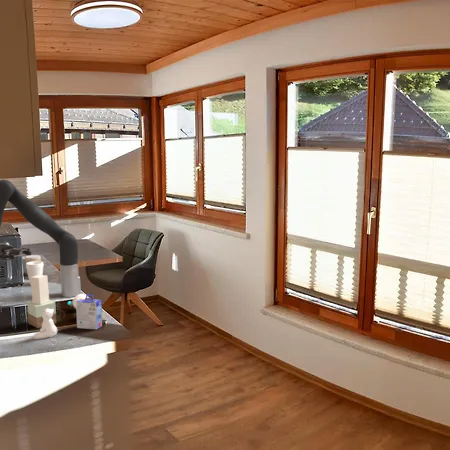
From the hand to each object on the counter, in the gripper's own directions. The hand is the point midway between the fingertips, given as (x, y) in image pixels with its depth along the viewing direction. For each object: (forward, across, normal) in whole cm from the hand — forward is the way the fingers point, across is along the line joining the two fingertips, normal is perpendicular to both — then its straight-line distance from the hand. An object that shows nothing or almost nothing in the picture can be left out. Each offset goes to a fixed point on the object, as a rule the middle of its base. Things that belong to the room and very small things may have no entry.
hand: (22, 255), depth 238 cm
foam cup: (-45, +32, +30) cm, 63 cm away
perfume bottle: (+14, +18, +30) cm, 38 cm away
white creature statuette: (+33, -12, +29) cm, 45 cm away
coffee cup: (-66, +45, +31) cm, 86 cm away
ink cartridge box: (+39, +6, +30) cm, 49 cm away
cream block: (+17, -4, +19) cm, 26 cm away
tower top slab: (+17, -4, +24) cm, 30 cm away
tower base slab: (+17, -4, +29) cm, 34 cm away
